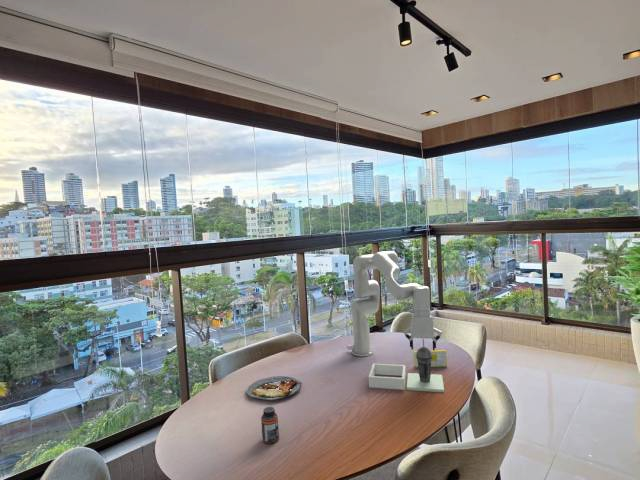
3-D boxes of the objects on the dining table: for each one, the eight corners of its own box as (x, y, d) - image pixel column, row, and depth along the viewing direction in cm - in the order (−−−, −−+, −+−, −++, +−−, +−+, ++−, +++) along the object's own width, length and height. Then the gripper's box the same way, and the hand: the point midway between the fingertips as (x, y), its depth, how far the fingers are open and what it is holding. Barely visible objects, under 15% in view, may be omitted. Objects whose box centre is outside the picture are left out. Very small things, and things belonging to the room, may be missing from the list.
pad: (406, 389, 163) (406, 387, 163) (408, 375, 178) (407, 372, 178) (444, 392, 159) (444, 389, 159) (442, 377, 174) (442, 374, 174)
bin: (369, 387, 168) (368, 376, 167) (373, 373, 183) (373, 363, 183) (404, 389, 163) (404, 378, 163) (405, 375, 179) (405, 365, 178)
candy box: (446, 365, 188) (445, 349, 188) (447, 367, 186) (446, 351, 186) (414, 365, 190) (413, 350, 190) (415, 367, 188) (414, 351, 187)
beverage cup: (433, 378, 171) (431, 336, 170) (432, 384, 164) (431, 341, 163) (417, 376, 173) (415, 335, 173) (416, 383, 166) (414, 340, 166)
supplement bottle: (263, 435, 133) (261, 405, 133) (279, 434, 133) (277, 404, 133) (261, 445, 127) (259, 414, 127) (278, 443, 128) (277, 412, 127)
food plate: (309, 383, 175) (309, 376, 175) (285, 407, 154) (284, 398, 154) (266, 378, 185) (265, 371, 185) (237, 399, 164) (237, 392, 164)
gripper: (402, 314, 166) (403, 350, 167) (441, 315, 161) (443, 352, 162) (403, 310, 173) (404, 345, 174) (441, 311, 169) (442, 347, 170)
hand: (422, 349), depth 168 cm, fingers open, 9 cm apart
